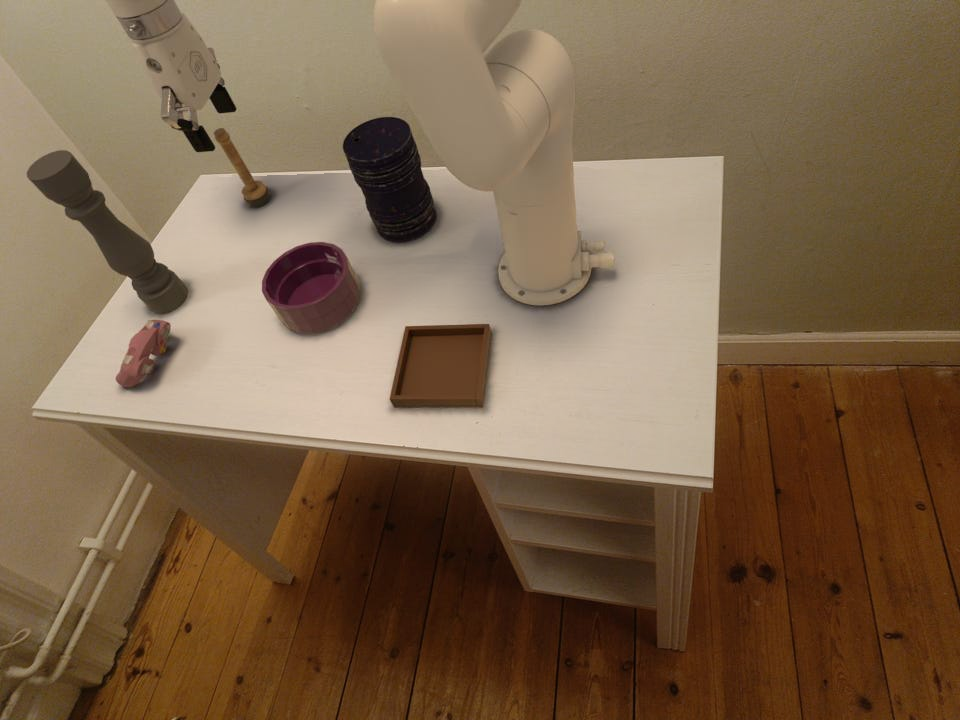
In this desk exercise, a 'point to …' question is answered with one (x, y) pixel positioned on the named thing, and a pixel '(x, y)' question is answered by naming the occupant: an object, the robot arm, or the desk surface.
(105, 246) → the candle holder
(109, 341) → the desk surface
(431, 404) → the tray
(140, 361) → the pink toy
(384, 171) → the storage jar
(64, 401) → the desk surface
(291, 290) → the bowl
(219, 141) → the brush
